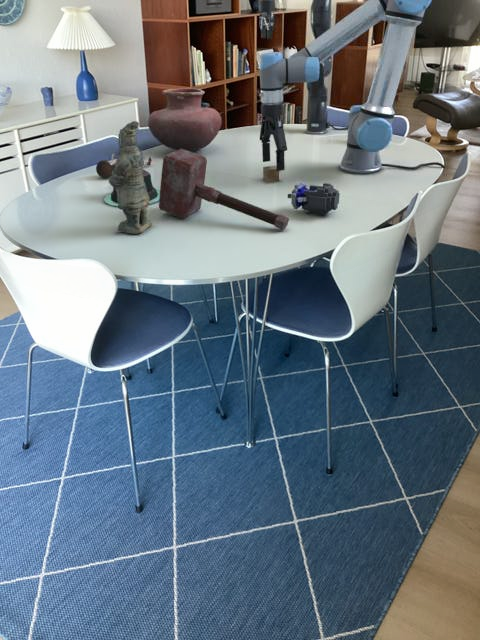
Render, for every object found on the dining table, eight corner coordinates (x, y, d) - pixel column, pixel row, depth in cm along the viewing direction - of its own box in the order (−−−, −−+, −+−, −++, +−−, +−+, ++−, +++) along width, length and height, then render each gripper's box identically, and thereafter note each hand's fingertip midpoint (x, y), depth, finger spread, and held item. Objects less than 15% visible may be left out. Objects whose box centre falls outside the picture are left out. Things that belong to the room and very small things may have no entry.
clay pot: (228, 143, 251) (226, 84, 239) (213, 161, 226) (210, 95, 213) (163, 142, 256) (158, 84, 243) (142, 159, 231) (135, 95, 218)
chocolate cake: (91, 202, 180) (113, 186, 197) (142, 231, 182) (160, 212, 199) (107, 162, 172) (129, 148, 190) (160, 192, 174) (177, 176, 192)
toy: (295, 178, 172) (342, 184, 166) (295, 205, 177) (340, 211, 171) (285, 186, 166) (333, 192, 160) (284, 213, 170) (331, 220, 164)
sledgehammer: (299, 190, 156) (179, 147, 167) (285, 200, 148) (161, 154, 160) (286, 244, 166) (174, 200, 177) (272, 256, 158) (156, 209, 170)
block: (274, 178, 204) (274, 165, 201) (279, 181, 200) (279, 168, 198) (262, 179, 202) (262, 166, 200) (267, 182, 199) (267, 169, 196)
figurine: (158, 154, 218) (111, 160, 199) (158, 173, 221) (112, 181, 202) (133, 150, 225) (86, 155, 206) (134, 169, 228) (87, 176, 209)
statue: (131, 220, 168) (117, 116, 152) (158, 224, 164) (147, 118, 149) (109, 233, 159) (93, 124, 144) (138, 237, 156) (124, 126, 140)
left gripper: (254, 0, 267) (254, 37, 275) (264, 0, 255) (264, 39, 263) (268, -1, 269) (268, 37, 277) (279, -1, 257) (279, 38, 265)
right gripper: (249, 99, 197) (251, 159, 208) (275, 109, 177) (276, 175, 187) (268, 96, 199) (270, 156, 210) (296, 107, 178) (297, 172, 189)
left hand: (266, 38), depth 270 cm, fingers open, 8 cm apart
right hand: (273, 165), depth 199 cm, fingers open, 13 cm apart
